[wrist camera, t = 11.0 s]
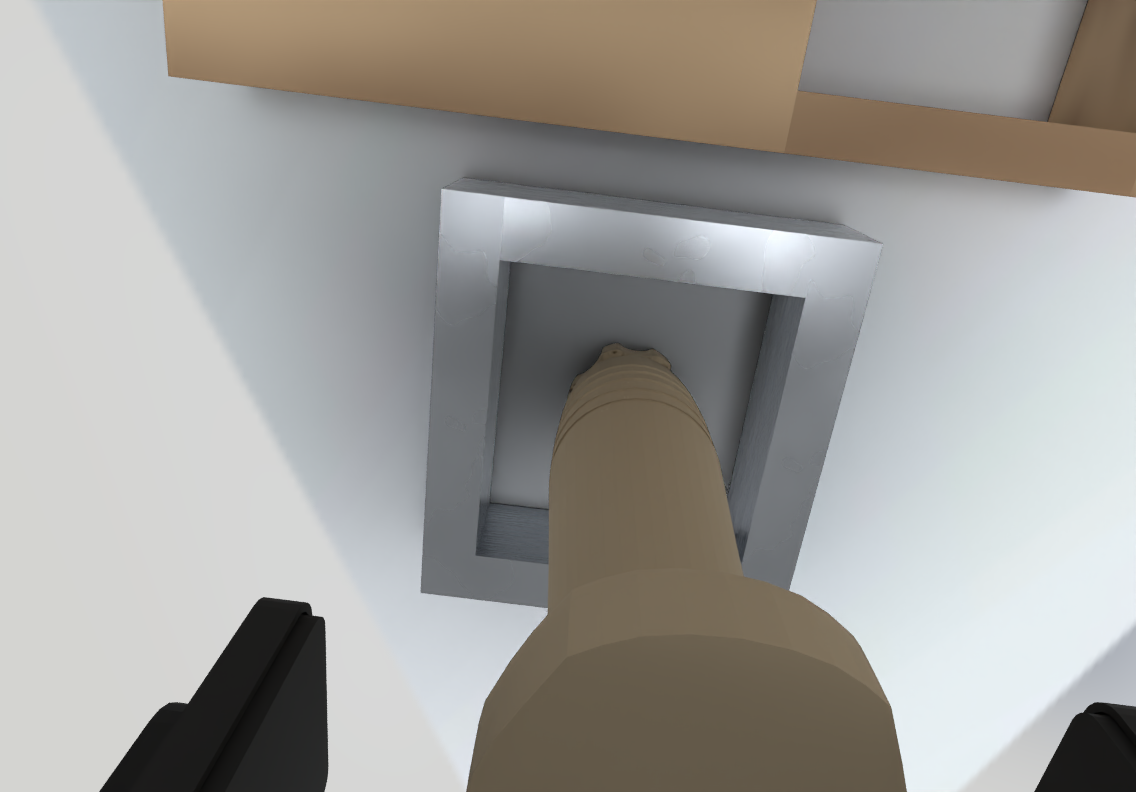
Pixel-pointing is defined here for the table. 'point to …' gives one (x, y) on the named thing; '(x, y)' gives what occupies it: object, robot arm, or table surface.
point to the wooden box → (662, 78)
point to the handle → (670, 628)
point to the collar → (648, 250)
